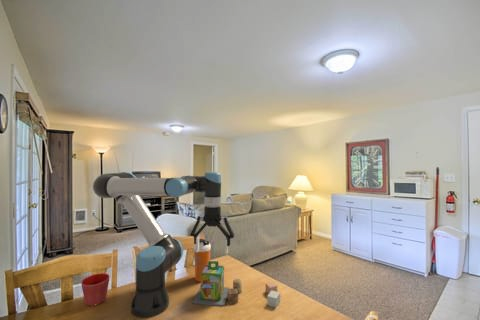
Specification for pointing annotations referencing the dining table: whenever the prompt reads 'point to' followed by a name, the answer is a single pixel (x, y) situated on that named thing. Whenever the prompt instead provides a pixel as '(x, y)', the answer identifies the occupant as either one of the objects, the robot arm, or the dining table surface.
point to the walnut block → (232, 295)
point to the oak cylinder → (237, 285)
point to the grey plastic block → (274, 298)
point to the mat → (211, 302)
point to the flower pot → (95, 288)
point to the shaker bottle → (201, 257)
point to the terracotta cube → (271, 287)
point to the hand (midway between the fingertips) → (211, 252)
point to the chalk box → (212, 281)
